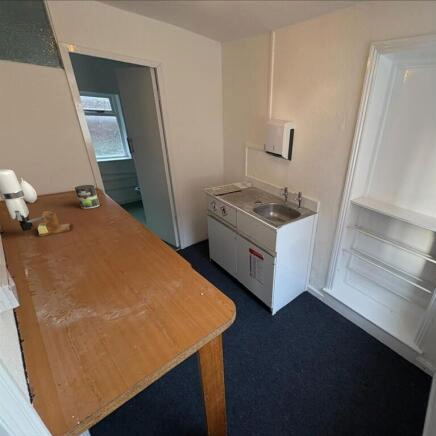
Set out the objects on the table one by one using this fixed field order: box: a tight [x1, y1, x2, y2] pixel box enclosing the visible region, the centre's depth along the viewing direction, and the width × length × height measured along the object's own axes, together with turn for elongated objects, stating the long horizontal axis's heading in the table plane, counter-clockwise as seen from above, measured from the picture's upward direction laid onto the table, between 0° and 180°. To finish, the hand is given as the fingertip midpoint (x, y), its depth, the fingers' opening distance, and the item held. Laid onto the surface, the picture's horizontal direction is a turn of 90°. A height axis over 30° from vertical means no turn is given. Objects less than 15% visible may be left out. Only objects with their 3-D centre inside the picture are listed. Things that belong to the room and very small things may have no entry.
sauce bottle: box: [19, 177, 38, 204], centre depth 161 cm, size 8×8×18 cm
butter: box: [37, 225, 48, 234], centre depth 123 cm, size 3×4×3 cm
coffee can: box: [74, 184, 100, 210], centre depth 160 cm, size 10×10×14 cm
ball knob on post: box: [28, 212, 52, 223], centre depth 122 cm, size 13×3×3 cm, turn 130°
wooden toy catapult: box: [37, 209, 71, 237], centre depth 126 cm, size 12×9×11 cm
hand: (28, 228), depth 121 cm, fingers closed on ball knob on post, 3 cm apart
